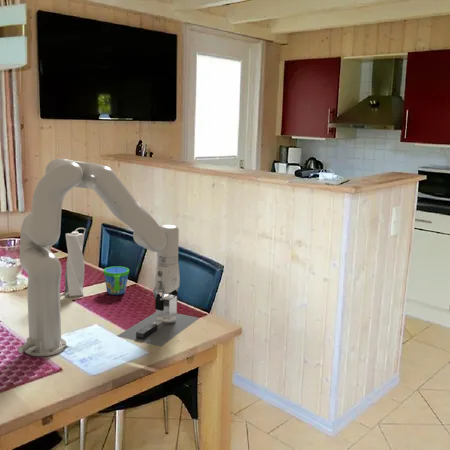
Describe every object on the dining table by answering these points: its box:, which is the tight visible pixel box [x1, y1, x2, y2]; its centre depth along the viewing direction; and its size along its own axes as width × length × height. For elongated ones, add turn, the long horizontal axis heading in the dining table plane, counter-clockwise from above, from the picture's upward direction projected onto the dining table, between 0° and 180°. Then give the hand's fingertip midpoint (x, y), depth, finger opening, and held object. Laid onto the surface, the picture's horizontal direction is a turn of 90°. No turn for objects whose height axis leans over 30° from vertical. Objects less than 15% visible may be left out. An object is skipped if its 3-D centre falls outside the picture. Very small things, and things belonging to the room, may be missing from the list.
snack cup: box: [103, 265, 130, 296], centre depth 216 cm, size 16×10×10 cm
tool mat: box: [117, 311, 200, 347], centre depth 181 cm, size 28×17×1 cm, turn 157°
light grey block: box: [155, 293, 178, 319], centre depth 185 cm, size 5×5×7 cm
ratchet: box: [136, 315, 176, 340], centre depth 179 cm, size 21×7×7 cm, turn 157°
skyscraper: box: [64, 227, 87, 298], centre depth 210 cm, size 8×8×28 cm
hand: (166, 305), depth 185 cm, fingers open, 9 cm apart
